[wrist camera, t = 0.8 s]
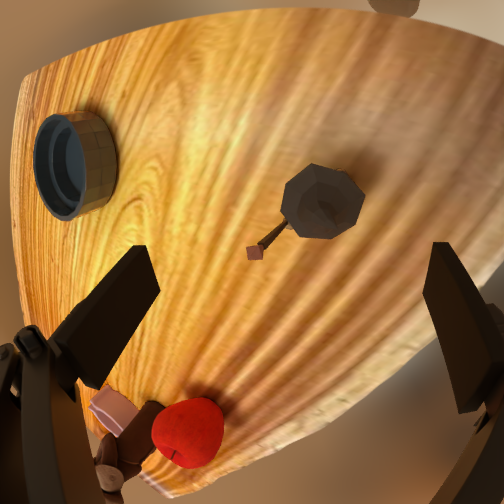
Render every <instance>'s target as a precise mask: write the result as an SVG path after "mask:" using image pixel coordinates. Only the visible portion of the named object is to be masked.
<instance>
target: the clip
mask: <svg viewBox="0 0 504 504" xmlns="http://www.w3.org/2000/svg"><path fill="white" fill-rule="evenodd" d="M90 402H91V403H92V404H91V405H90V406H89V407H88V408H89V410H91V411H92V412H93V413H94V414H95V416H96V417H97V419H98V420H99V421H100V422H101V423H102V424H103V425H104V426H105V427H106V428H107V429H108V430H109V431H110V432H111V433H113V434H114V435H115V436H117V437H118V436H119V435H120V434H121V432H122V431H123V430H124V429H125V428H126V427H127V426H128V425H129V423H130V422H131V421H132V420H133V418H134V417H135V416H136V415H137V413H138V412H139V410H138V409H137V408H136V407H135V406H134V405H133V404H132V403H131V402H130V401H129V400H128V399H127V398H125V397H124V396H123V395H121V394H120V393H118V392H116V391H114V390H112V389H111V387H110V386H109V385H106V386H105V387H104V388H103V389H102V390H100V391H99V392H98V393H97V394H96V395H95V396H94V397H93V398H92V399H91V400H90Z"/></svg>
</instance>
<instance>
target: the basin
mask: <svg viewBox="0 0 504 504" xmlns="http://www.w3.org/2000/svg"><path fill="white" fill-rule="evenodd" d="M116 166H117V162H116V154H115V146H114V143H113V140H112V137H111V134H110V131H109V129H108V128H107V126H106V124H105V123H104V121H103V120H102V119H101V118H100V117H99V116H97V115H96V114H95V113H93V112H91V111H74V112H65V113H57V114H53V115H51V116H49V117H47V118H46V119H45V120H44V122H43V123H42V125H41V126H40V128H39V130H38V133H37V136H36V139H35V145H34V151H33V168H34V175H35V181H36V184H37V188H38V191H39V194H40V196H41V198H42V200H43V202H44V204H45V206H46V208H47V209H48V210H49V211H50V213H51V214H52V215H53V216H54V217H56V218H57V219H59V220H61V221H71V220H74V219H76V218H79V217H81V216H83V215H86V214H88V213H91V212H94V211H96V210H98V209H99V208H101V207H103V206H104V205H105V204H106V203H107V201H108V199H109V198H110V196H111V194H112V191H113V188H114V184H115V181H116Z"/></svg>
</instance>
